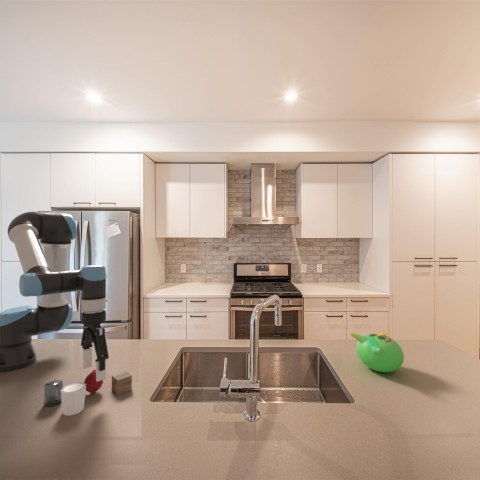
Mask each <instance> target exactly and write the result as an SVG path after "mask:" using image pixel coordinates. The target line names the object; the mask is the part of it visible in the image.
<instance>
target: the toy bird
mask: <svg viewBox="0 0 480 480" xmlns="http://www.w3.org/2000/svg"><path fill="white" fill-rule="evenodd" d="M387 334H388V333H387V332H381V333H380V332H378V333H367V334H365V335H363V334H362V335H361V334H359V333H355V332H350V333H349V335H350V336H351V337H353V338H354V339H355V340H357V343H356V346H355V347H356V348H355V349H356V353H357V356H358V358H359V360H360V362H362V363H363V364H364V365H365V366H366V367H367V368H369V369H371V370H373V371H376V372H379V373H391V372H392V373H393V372H395V371H398V369H400V368H401V366H402V365H403V363H404V361H405V354H404V351H403V349H402V347H401V346H400V344H399V343H398V342H397V341H396V340H394V339H393V338H391V337H390V336H387Z"/></svg>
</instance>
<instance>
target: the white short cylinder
mask: <svg viewBox="0 0 480 480" xmlns="http://www.w3.org/2000/svg"><path fill="white" fill-rule="evenodd" d="M86 392H87V391H86V384H85V383H84V382H83V381H82V382H81V381H78V382H73V383H69V384H66V385H65V386H64V385H63V388H62V389H61V401H62V402H61V410H62V414H63V415H64V416H67V417H68V416H73V415H77V414H80V412H83V410H85V400H86Z"/></svg>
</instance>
